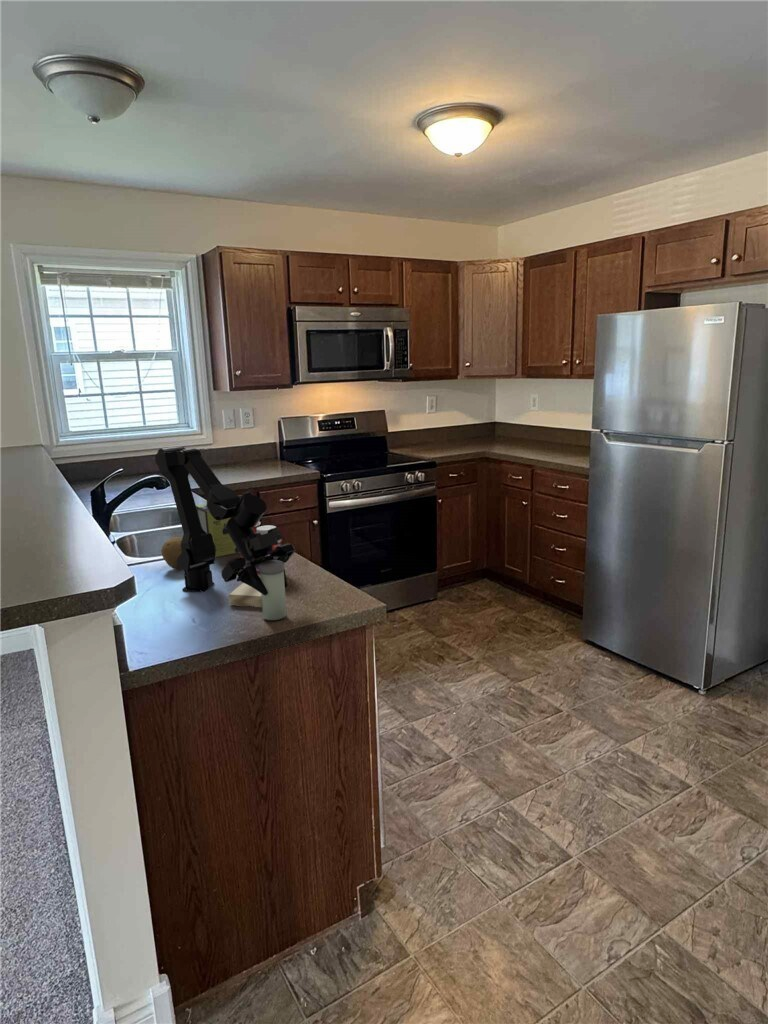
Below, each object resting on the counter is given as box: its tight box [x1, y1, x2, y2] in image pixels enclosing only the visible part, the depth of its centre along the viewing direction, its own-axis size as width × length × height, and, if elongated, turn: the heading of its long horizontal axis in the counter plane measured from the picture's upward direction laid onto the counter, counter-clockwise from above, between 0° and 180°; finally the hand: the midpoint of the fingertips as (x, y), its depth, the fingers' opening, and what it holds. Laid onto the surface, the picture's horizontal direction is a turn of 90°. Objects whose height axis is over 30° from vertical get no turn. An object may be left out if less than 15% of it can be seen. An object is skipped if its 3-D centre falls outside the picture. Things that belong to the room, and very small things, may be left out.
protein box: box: [196, 503, 237, 558], centre depth 205 cm, size 10×15×16 cm
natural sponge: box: [160, 536, 183, 571], centre depth 188 cm, size 9×9×10 cm
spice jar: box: [258, 560, 287, 621], centre depth 150 cm, size 6×6×13 cm
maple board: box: [228, 582, 262, 608], centre depth 163 cm, size 9×9×3 cm
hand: (276, 590), depth 149 cm, fingers closed on spice jar, 6 cm apart
